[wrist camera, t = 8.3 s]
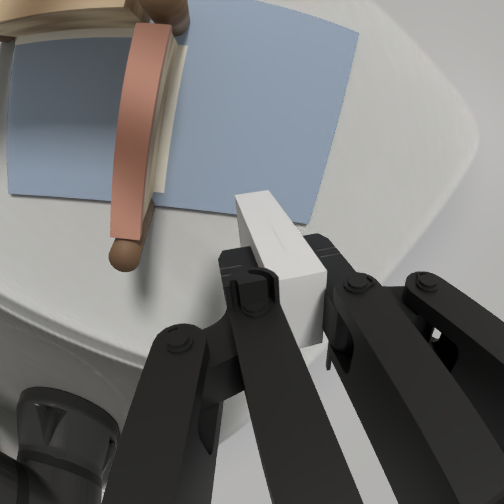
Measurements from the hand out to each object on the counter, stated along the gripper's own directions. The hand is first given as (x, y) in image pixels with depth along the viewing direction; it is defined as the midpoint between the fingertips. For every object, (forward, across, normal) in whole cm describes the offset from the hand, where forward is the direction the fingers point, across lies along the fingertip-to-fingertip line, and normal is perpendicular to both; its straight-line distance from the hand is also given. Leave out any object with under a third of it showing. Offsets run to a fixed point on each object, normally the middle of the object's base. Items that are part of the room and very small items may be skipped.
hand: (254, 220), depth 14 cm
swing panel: (+8, -5, +4) cm, 10 cm away
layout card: (+8, -4, +6) cm, 11 cm away
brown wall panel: (+8, -8, +13) cm, 17 cm away
